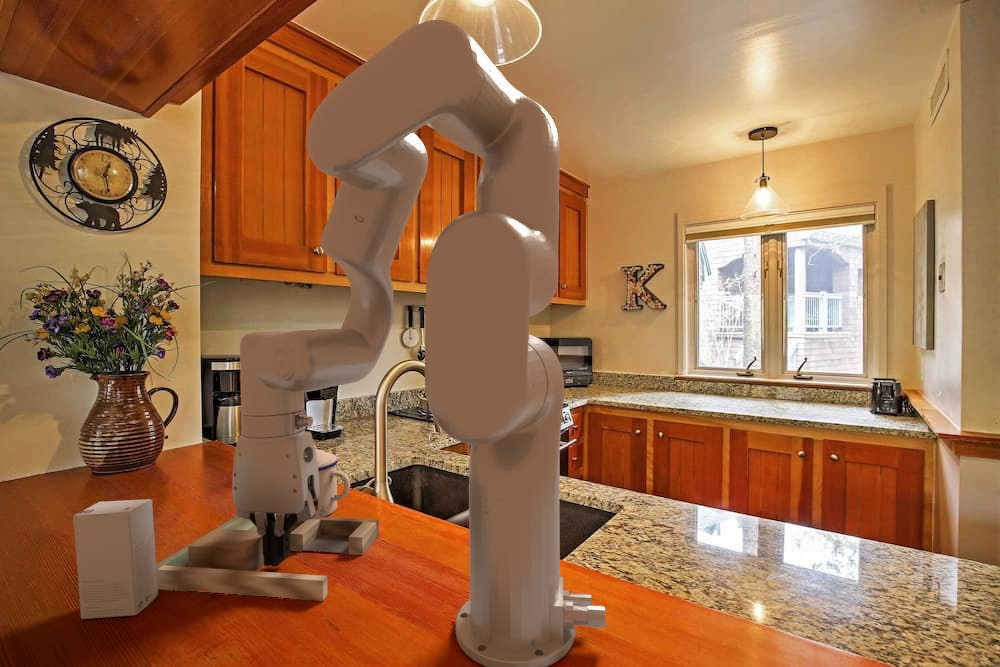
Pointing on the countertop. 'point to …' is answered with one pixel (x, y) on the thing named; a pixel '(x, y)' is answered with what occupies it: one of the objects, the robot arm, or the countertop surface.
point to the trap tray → (303, 537)
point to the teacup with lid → (329, 483)
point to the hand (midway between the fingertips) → (276, 560)
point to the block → (227, 550)
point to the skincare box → (115, 558)
